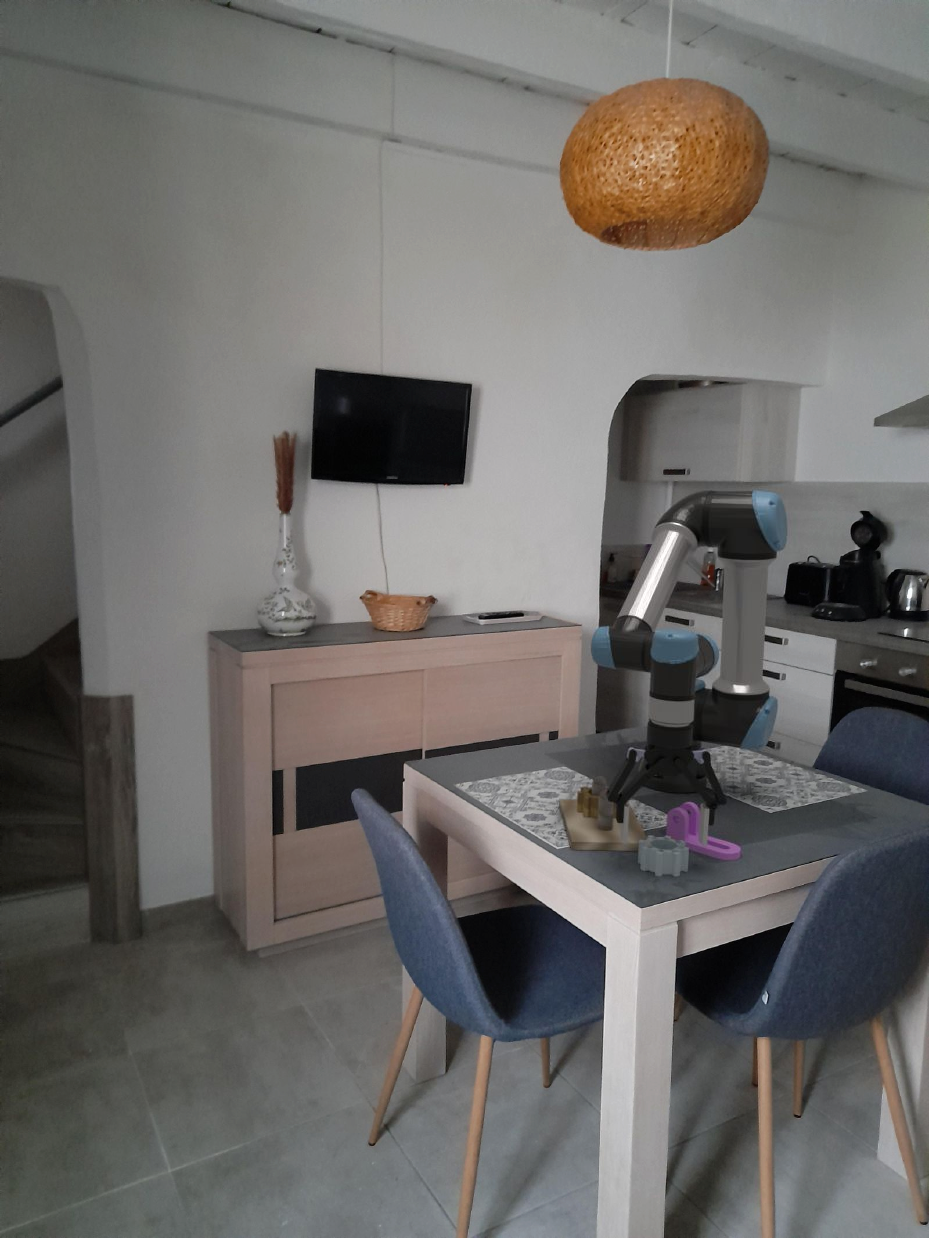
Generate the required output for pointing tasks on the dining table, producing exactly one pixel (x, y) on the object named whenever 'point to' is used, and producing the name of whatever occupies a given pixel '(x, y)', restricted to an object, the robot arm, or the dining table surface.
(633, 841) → the gear board
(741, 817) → the dining table surface
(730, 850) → the bracket
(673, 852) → the gear
